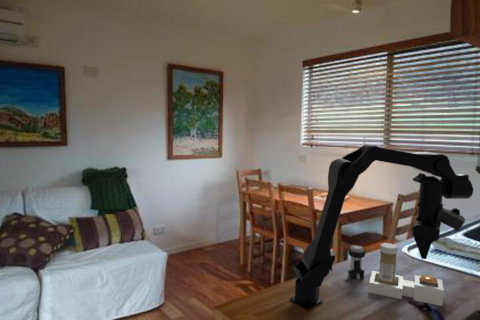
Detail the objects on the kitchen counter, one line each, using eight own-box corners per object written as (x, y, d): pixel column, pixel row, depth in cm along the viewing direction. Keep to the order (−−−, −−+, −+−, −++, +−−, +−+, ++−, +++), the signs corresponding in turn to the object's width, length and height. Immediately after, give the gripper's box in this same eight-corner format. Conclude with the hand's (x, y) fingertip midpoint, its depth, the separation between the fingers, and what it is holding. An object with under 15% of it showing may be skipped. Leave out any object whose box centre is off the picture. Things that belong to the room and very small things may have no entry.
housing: (368, 292, 107) (369, 277, 106) (371, 279, 115) (372, 266, 114) (442, 307, 99) (444, 291, 99) (440, 293, 107) (441, 278, 107)
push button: (350, 283, 112) (352, 251, 111) (339, 276, 117) (341, 245, 116) (367, 280, 115) (369, 249, 113) (356, 273, 120) (358, 243, 118)
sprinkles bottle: (396, 289, 109) (400, 245, 107) (390, 294, 106) (393, 249, 104) (381, 283, 112) (385, 241, 110) (374, 288, 109) (377, 244, 107)
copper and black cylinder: (419, 298, 104) (421, 279, 103) (419, 292, 107) (421, 274, 106) (435, 301, 102) (437, 282, 101) (435, 295, 106) (436, 276, 105)
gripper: (465, 210, 89) (458, 272, 91) (463, 196, 105) (458, 248, 107) (414, 204, 95) (409, 262, 97) (420, 191, 111) (415, 241, 113)
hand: (425, 253), depth 103 cm, fingers open, 9 cm apart
